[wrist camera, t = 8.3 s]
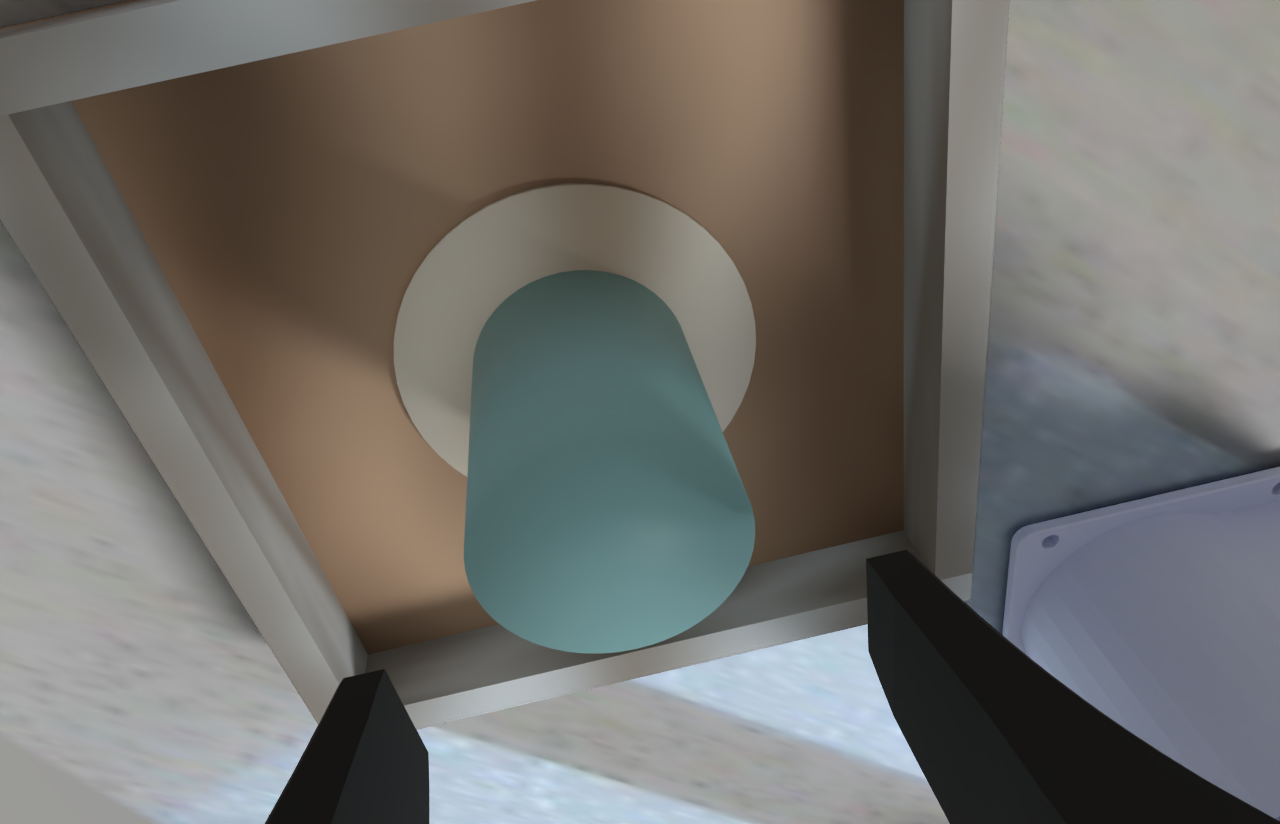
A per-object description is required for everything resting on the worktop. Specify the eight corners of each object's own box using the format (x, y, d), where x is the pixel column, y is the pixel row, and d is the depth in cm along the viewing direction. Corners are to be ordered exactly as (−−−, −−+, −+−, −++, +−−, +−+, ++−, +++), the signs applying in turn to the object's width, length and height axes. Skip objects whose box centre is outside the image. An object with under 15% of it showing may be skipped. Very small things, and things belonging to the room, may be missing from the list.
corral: (940, -173, 15) (1021, -180, 13) (926, 529, 25) (971, 599, 22) (-6, 29, 15) (-101, 60, 12) (349, 664, 24) (333, 749, 22)
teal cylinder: (672, 249, 18) (741, 401, 13) (700, 433, 20) (766, 619, 15) (445, 296, 17) (425, 470, 12) (503, 475, 20) (504, 678, 15)
